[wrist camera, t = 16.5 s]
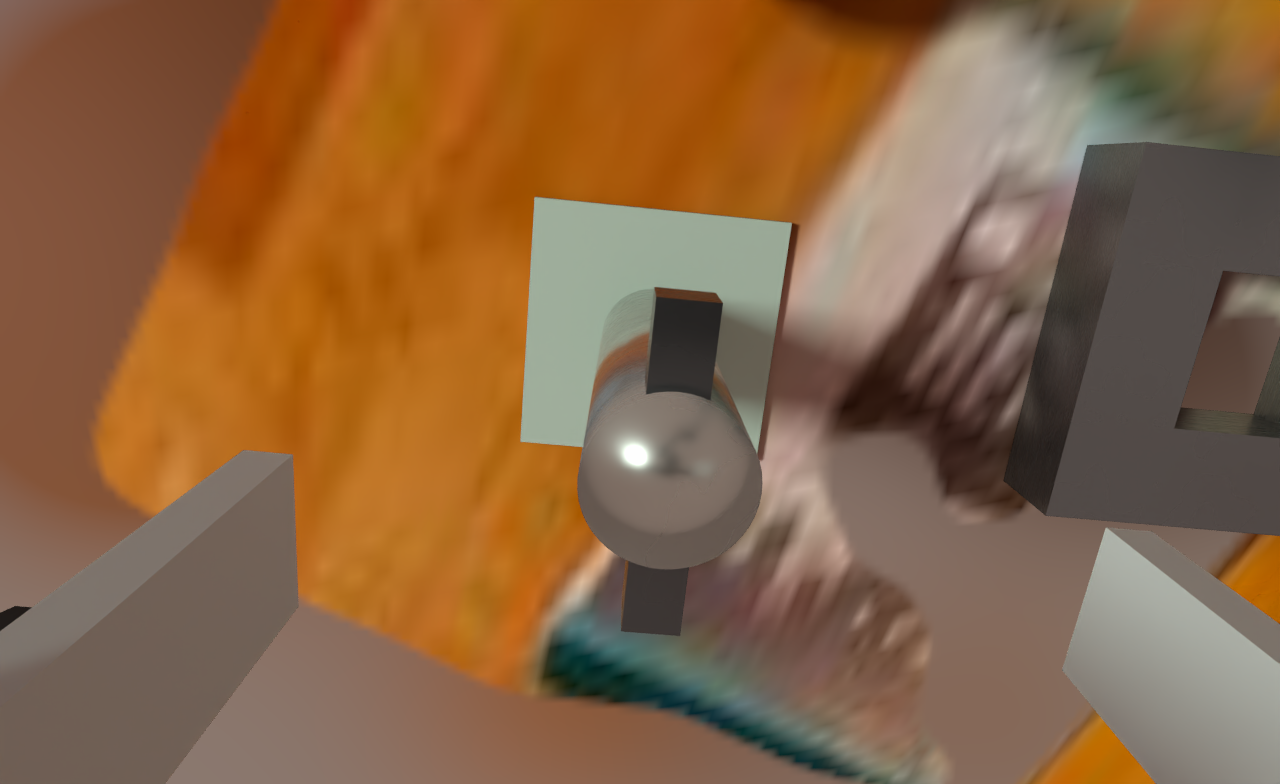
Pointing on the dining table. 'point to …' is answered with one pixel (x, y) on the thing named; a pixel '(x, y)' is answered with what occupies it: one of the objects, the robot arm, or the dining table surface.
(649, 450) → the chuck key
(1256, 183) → the plate
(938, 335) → the dining table surface
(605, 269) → the rubber mat
